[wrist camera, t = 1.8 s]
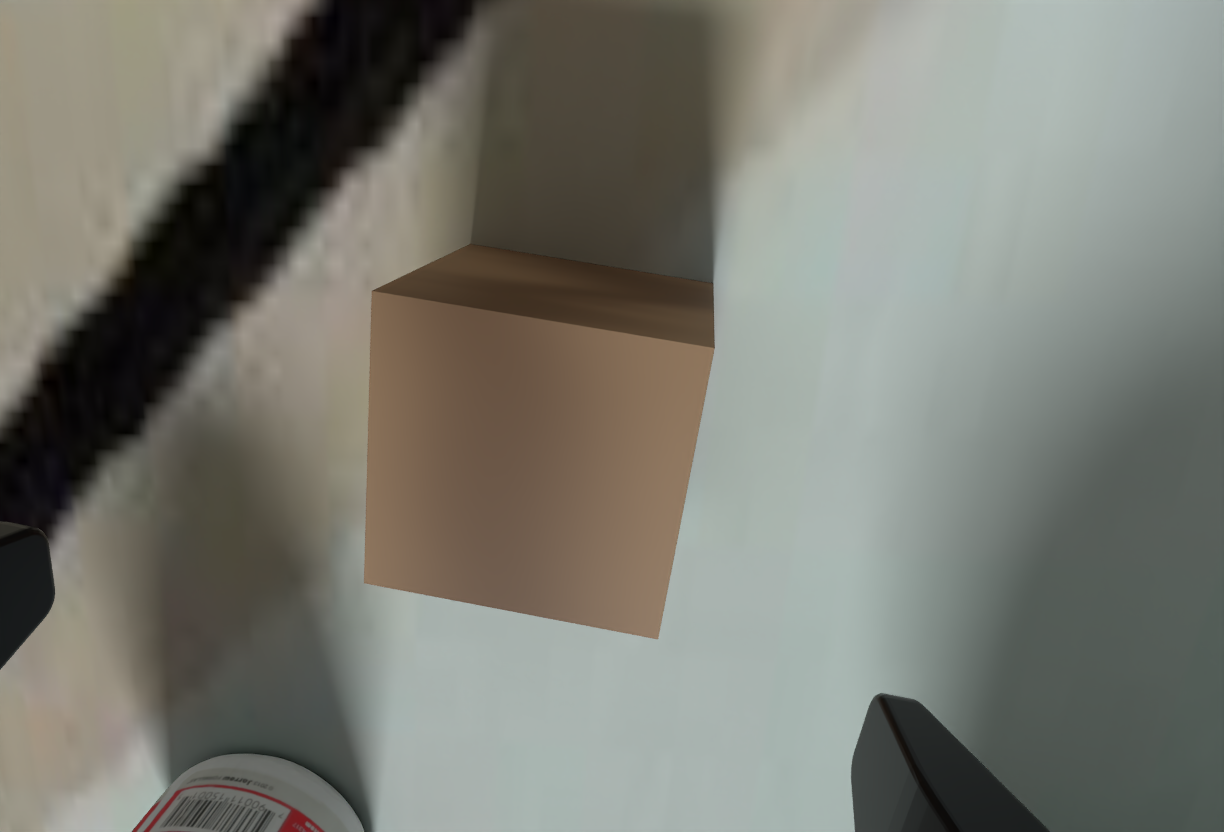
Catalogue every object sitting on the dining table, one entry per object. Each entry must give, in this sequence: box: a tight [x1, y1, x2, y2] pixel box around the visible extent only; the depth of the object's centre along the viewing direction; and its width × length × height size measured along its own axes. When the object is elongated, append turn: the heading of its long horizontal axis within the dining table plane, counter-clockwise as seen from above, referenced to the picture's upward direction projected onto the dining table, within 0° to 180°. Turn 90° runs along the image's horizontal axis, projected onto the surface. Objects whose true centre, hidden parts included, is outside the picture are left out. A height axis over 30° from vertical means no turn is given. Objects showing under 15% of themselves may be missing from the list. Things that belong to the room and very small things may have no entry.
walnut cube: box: [364, 244, 715, 639], centre depth 14 cm, size 5×5×5 cm
